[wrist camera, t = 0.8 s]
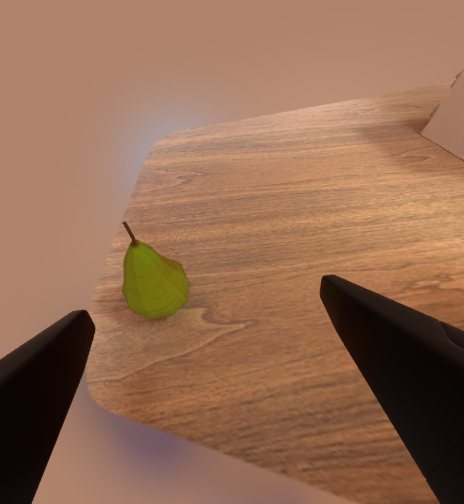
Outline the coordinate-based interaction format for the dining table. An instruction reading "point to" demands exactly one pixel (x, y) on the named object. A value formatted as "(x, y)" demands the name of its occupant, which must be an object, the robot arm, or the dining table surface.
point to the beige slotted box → (449, 120)
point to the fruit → (152, 281)
